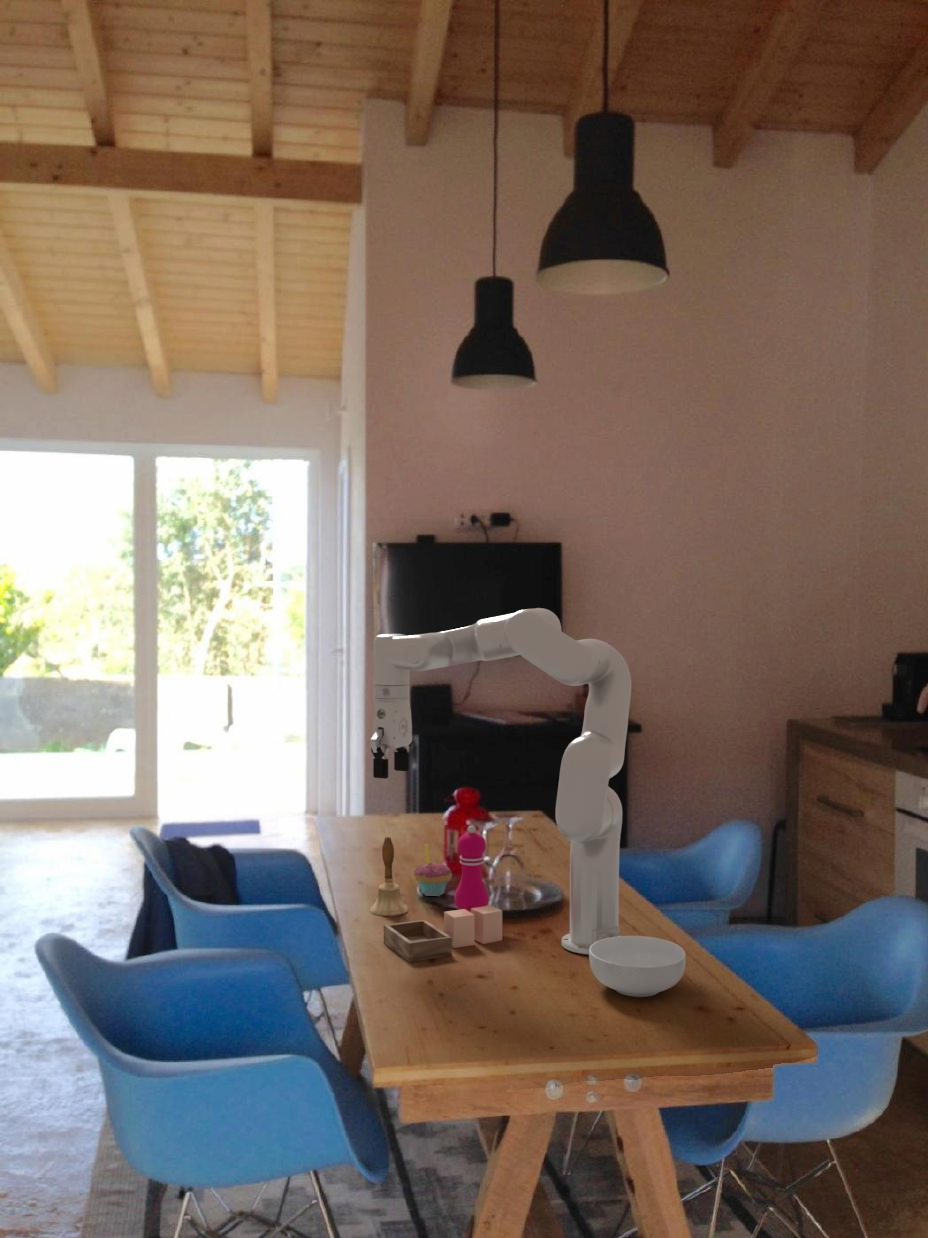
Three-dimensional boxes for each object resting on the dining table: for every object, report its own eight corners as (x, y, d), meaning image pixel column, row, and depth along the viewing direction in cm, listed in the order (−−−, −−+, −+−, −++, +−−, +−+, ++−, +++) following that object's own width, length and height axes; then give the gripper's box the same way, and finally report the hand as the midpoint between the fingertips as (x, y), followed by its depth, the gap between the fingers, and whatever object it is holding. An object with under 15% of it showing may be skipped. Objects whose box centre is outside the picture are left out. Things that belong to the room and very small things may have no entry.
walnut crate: (451, 955, 228) (451, 937, 228) (409, 962, 225) (409, 943, 224) (424, 937, 240) (424, 919, 240) (383, 942, 236) (383, 925, 236)
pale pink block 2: (502, 940, 238) (502, 910, 238) (483, 944, 236) (483, 914, 235) (489, 934, 242) (489, 905, 242) (470, 938, 239) (470, 908, 239)
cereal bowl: (570, 983, 213) (570, 943, 213) (644, 968, 222) (644, 930, 221) (628, 1013, 199) (628, 971, 198) (705, 996, 207) (706, 955, 206)
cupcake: (408, 897, 270) (408, 844, 269) (423, 888, 278) (423, 836, 277) (443, 901, 266) (443, 847, 266) (457, 891, 274) (458, 839, 274)
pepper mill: (485, 926, 247) (485, 830, 247) (451, 924, 249) (451, 828, 248) (491, 916, 255) (491, 822, 254) (458, 914, 256) (458, 821, 255)
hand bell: (379, 918, 253) (379, 843, 253) (363, 908, 261) (363, 835, 260) (414, 913, 257) (414, 839, 256) (398, 903, 264) (398, 832, 264)
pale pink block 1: (474, 945, 235) (474, 914, 235) (453, 948, 233) (453, 917, 233) (464, 938, 239) (464, 909, 239) (444, 941, 237) (444, 911, 237)
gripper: (389, 697, 241) (389, 782, 242) (425, 690, 257) (424, 769, 258) (356, 696, 244) (356, 779, 245) (393, 688, 260) (393, 767, 261)
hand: (391, 774), depth 251 cm, fingers open, 9 cm apart
